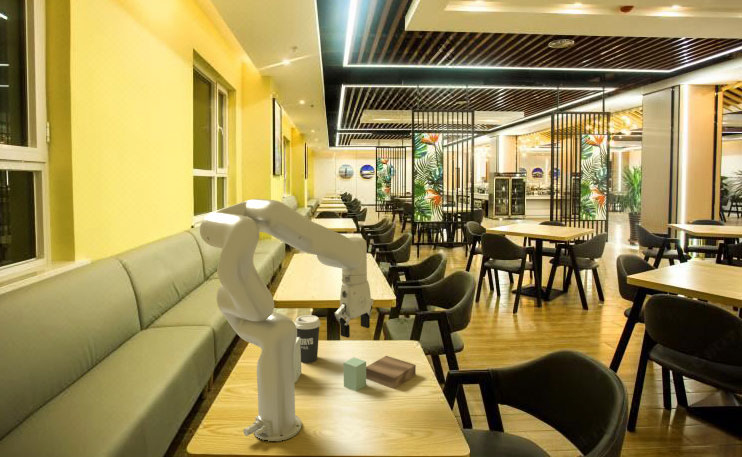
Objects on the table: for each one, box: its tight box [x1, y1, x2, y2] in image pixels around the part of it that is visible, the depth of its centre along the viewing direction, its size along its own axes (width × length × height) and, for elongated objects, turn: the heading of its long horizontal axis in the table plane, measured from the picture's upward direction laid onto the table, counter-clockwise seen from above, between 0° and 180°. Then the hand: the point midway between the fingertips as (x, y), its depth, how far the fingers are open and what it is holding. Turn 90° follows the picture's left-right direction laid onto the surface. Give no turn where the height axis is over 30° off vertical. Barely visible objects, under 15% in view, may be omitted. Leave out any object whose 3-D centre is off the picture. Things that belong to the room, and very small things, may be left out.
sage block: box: [343, 356, 367, 392], centre depth 150 cm, size 5×5×8 cm
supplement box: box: [294, 337, 302, 383], centre depth 155 cm, size 7×7×13 cm
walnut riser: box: [366, 355, 417, 390], centre depth 157 cm, size 12×12×4 cm
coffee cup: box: [293, 314, 322, 364], centre depth 169 cm, size 10×10×15 cm
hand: (355, 331), depth 148 cm, fingers open, 9 cm apart
